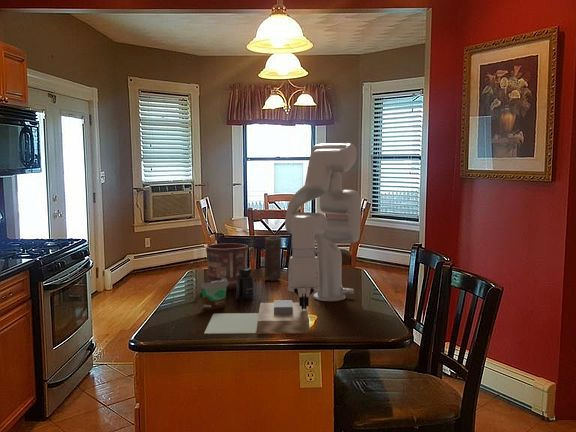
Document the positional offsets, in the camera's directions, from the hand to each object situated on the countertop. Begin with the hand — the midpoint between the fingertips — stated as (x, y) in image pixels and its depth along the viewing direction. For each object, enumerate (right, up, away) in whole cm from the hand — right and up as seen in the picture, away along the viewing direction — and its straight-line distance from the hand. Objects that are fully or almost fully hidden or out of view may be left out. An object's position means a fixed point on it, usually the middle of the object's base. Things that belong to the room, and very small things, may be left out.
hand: (303, 308), depth 174 cm
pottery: (-31, -1, +54) cm, 62 cm away
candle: (-12, +1, +66) cm, 67 cm away
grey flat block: (-7, -1, 0) cm, 7 cm away
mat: (-23, -5, 0) cm, 24 cm away
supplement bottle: (-22, -2, +33) cm, 40 cm away
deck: (-7, -5, 0) cm, 8 cm away
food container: (-31, -4, +21) cm, 38 cm away
